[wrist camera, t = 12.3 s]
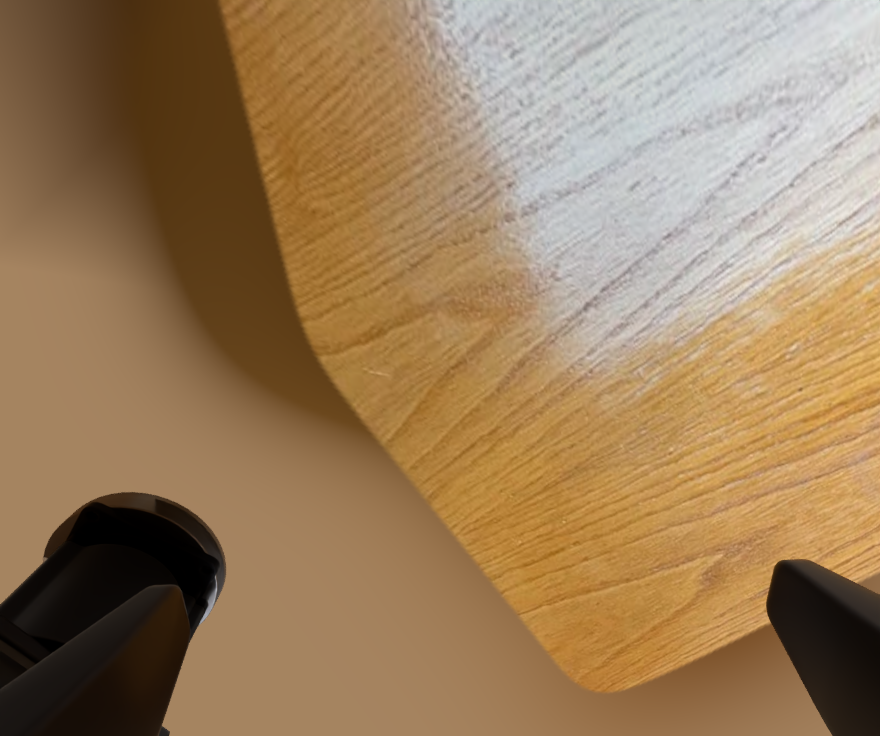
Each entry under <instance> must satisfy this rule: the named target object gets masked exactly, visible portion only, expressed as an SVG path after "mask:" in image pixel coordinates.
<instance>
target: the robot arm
mask: <svg viewBox="0 0 880 736" xmlns="http://www.w3.org/2000/svg"><path fill="white" fill-rule="evenodd" d="M92 512H95V513H96V514H97V516H96V515H94V514H93V513H92ZM205 566H209V567H210V568H211V569H209V568H206V567H205ZM219 568H220V562H219V561H218V559H216V558H215V557H213V556H211V555H209V554H207V553H205V552H203V551H201V550H199V549H196V548H194V547H192V546H190V545H188V544H186V543H184V542H182V541H180V540H178V539H176V538H173V537H171V536H169V535H167V534H165V533H163V532H161V531H159V530H157V529H155V528H153V527H150V526H148V525H146V524H144V523H142V522H140V521H138V520H136V519H134V518H132V517H130V516H127V515H125V514H123V513H121V512H119V511H117V510H115V509H113V508H111V507H109V506H107V505H104V504H102V503H99V502H91V503H89V504H88V505H87V506H86V507H85V508H84V509H83V510H82V511H81V512H80V514H79V516H78V518H77V520H76V522H75V524H74V526H73V528H72V530H71V532H70V534H69V536H68V538H67V539H66V541H65V542H64V543H63V544H62V545H61V546H60V547H59V548H58V549H57V550H56V551H55V552H54V553H53V554H52V555H51V556H50V557H49V558H48V559H47V560H46V561H45V562H44V563H43V564H42V565H40V566H39V567H38V568H37V569H36V571H34V572H33V573H32V574H31V575H30V576H29V577H28V578H27V579H26V580H25V581H24V582H23V583H22V584H21V585H20V586H19V587H18V588H17V589H16V590H15V591H14V592H13V593H12V594H11V595H10V596H9V597H8V598H7V599H5V601H3V602H2V603H1V604H0V736H169V733H170V732H169V731H168V730H167V729H165V728H164V727H162V723H163V720H164V717H165V714H166V711H167V708H168V705H169V702H170V699H171V696H172V693H173V690H174V687H175V684H176V681H177V678H178V675H179V672H180V669H181V666H182V663H183V660H184V657H185V654H186V651H187V648H188V645H189V642H190V640H191V638H192V636H193V634H194V633H195V630H196V629H197V627H198V625H199V623H200V621H201V619H202V617H203V615H204V613H205V611H206V610H207V608H208V606H209V605H208V601H207V599H205V598H202V596H203V594H204V593H205V591H206V590H207V588H208V586H209V585H210V583H211V582H212V580H213V579H214V577H215V576H216V574H217V572H218V570H219ZM766 608H767V614H768V617H769V619H770V621H771V623H772V625H773V627H774V629H775V631H776V633H777V635H778V637H779V639H780V640H781V642H782V644H783V646H784V648H785V650H786V652H787V654H788V655H789V657H790V659H791V661H792V663H793V665H794V666H795V668H796V670H797V672H798V674H799V676H800V678H801V680H802V682H803V684H804V685H805V687H806V689H807V691H808V693H809V695H810V697H811V699H812V701H813V702H814V704H815V706H816V708H817V710H818V711H819V713H820V715H821V717H822V719H823V720H824V722H825V724H826V726H827V727H828V729H829V730H830V732H831V734H832V735H833V736H880V595H879V594H877V593H875V592H873V591H871V590H869V589H867V588H865V587H863V586H861V585H859V584H857V583H855V582H853V581H851V580H849V579H847V578H845V577H843V576H841V575H839V574H837V573H835V572H832V571H830V570H828V569H826V568H824V567H822V566H820V565H818V564H816V563H814V562H812V561H810V560H805V559H794V560H781V561H779V562H778V563H777V564H776V565H775V567H774V571H773V575H772V579H771V584H770V588H769V592H768V597H767V602H766Z"/></svg>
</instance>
